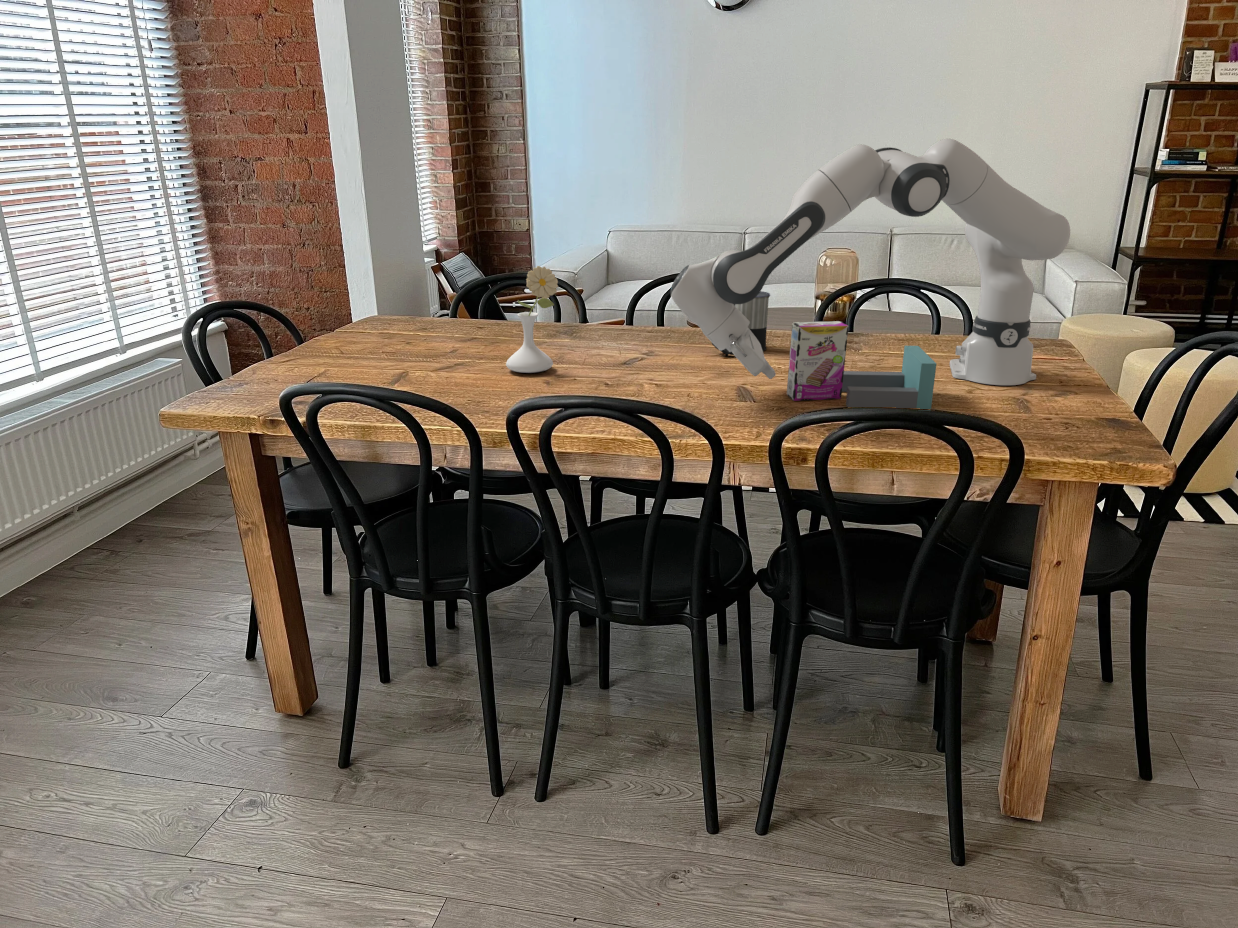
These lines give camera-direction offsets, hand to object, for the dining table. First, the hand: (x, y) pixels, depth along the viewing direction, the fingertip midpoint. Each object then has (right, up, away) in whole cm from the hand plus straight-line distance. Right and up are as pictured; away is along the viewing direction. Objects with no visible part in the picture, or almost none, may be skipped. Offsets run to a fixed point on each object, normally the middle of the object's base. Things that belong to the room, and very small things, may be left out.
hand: (772, 375), depth 199 cm
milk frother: (-2, +10, +42) cm, 43 cm away
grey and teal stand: (+23, -5, 0) cm, 24 cm away
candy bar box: (+9, -5, +1) cm, 10 cm away
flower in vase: (-54, +3, +23) cm, 59 cm away
